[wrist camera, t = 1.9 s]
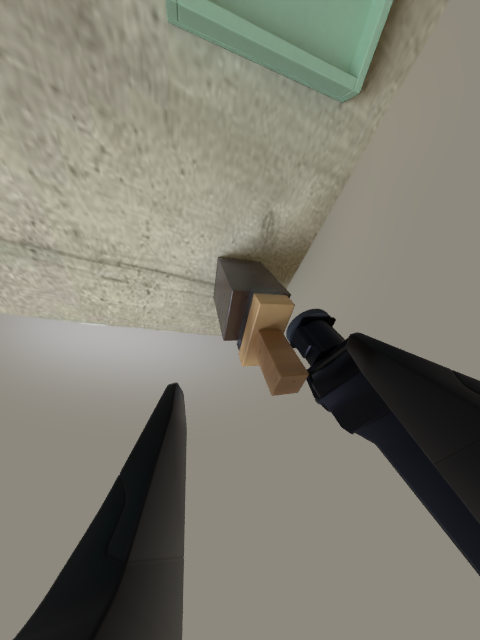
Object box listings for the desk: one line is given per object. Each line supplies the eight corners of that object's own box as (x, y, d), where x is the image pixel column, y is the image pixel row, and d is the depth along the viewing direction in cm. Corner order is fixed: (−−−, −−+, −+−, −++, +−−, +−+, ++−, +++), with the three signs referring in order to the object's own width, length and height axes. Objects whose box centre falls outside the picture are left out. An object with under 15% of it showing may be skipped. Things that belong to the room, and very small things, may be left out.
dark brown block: (260, 261, 21) (291, 294, 15) (251, 299, 24) (273, 340, 18) (217, 256, 20) (232, 290, 13) (213, 297, 22) (223, 341, 16)
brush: (249, 285, 13) (287, 347, 8) (280, 287, 14) (333, 346, 9) (235, 344, 17) (256, 416, 12) (261, 344, 18) (292, 410, 12)
